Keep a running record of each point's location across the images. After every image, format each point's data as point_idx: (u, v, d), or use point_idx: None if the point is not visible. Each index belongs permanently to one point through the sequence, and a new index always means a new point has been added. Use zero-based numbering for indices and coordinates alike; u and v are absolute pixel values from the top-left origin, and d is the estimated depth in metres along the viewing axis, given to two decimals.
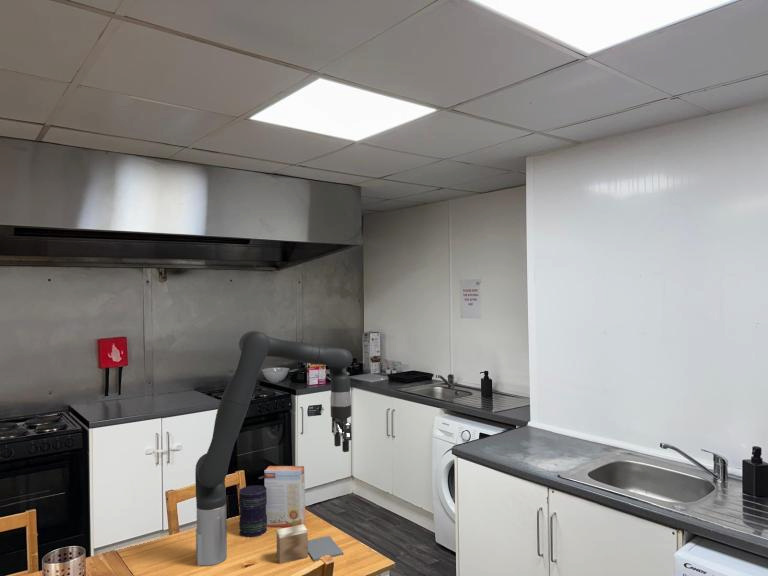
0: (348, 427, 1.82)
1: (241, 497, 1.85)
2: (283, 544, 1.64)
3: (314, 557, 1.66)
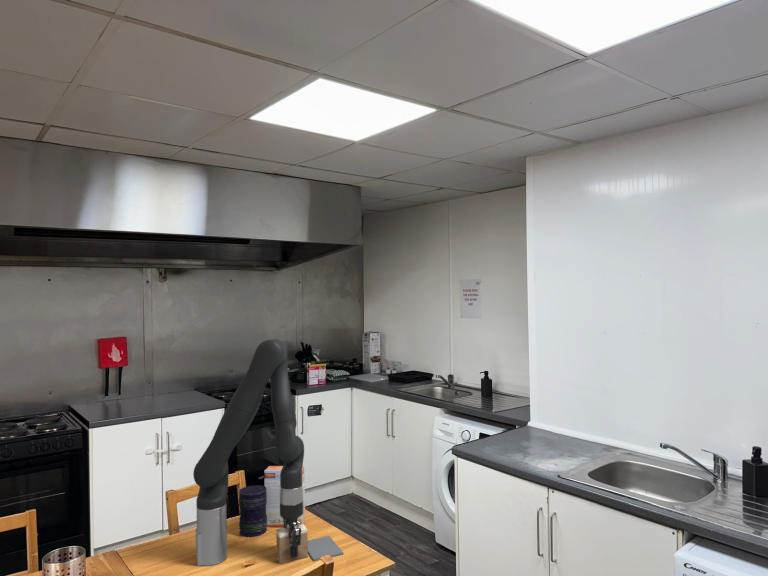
0: (297, 533, 1.62)
1: (241, 497, 1.85)
2: (283, 544, 1.64)
3: (314, 557, 1.66)
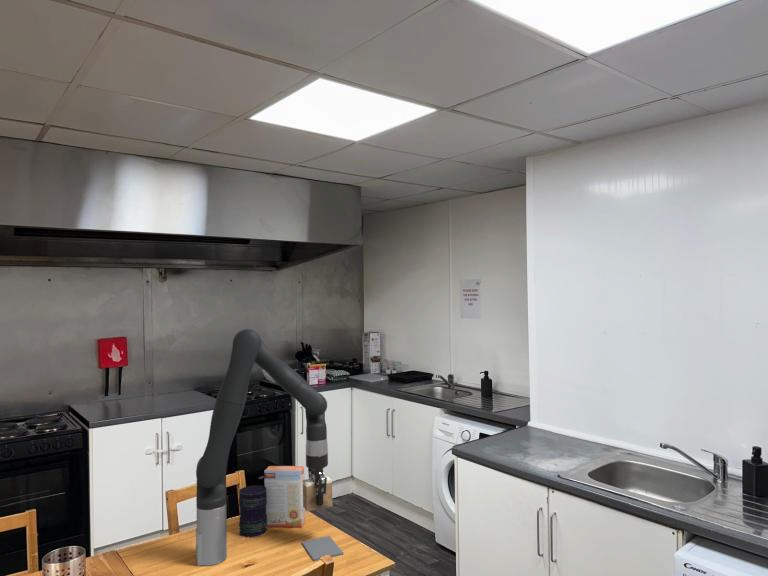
0: (323, 482, 1.72)
1: (241, 497, 1.85)
2: (310, 493, 1.74)
3: (314, 557, 1.66)
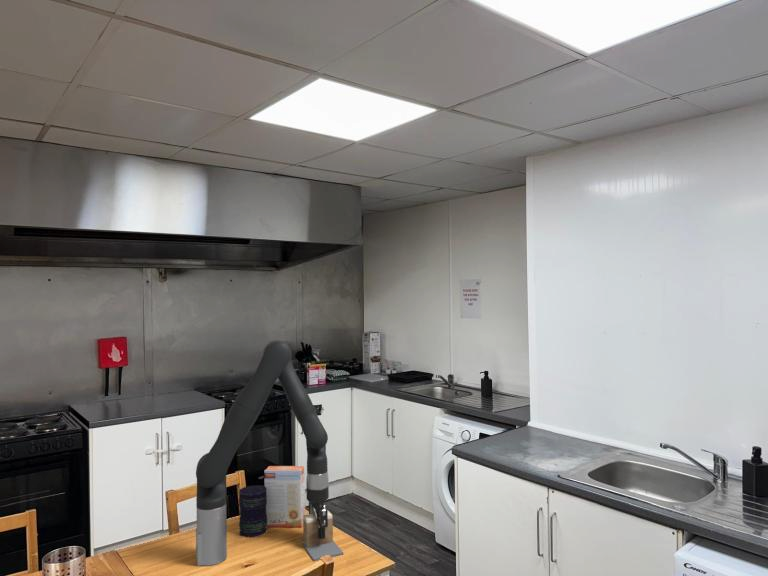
0: (324, 514, 1.71)
1: (241, 497, 1.85)
2: (310, 529, 1.74)
3: (314, 557, 1.66)
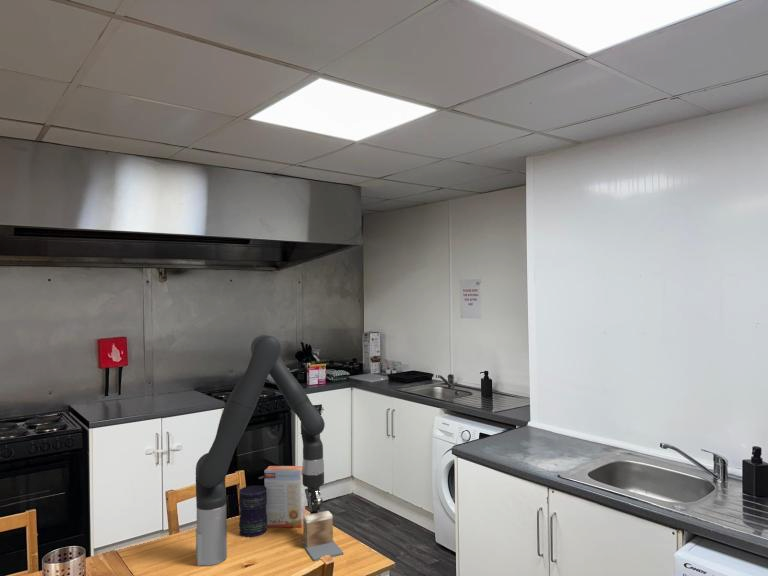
0: (319, 503, 1.77)
1: (241, 497, 1.85)
2: (310, 529, 1.74)
3: (314, 557, 1.66)
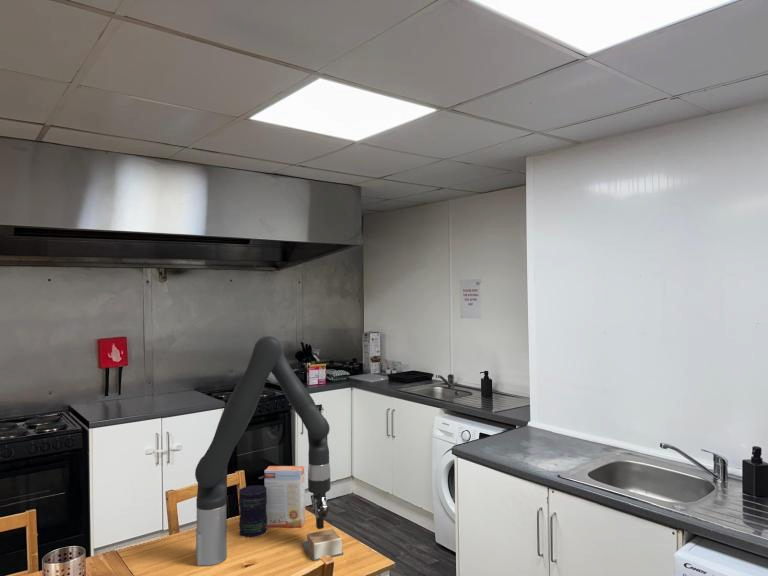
0: (325, 510, 1.71)
1: (241, 497, 1.85)
2: None
3: None
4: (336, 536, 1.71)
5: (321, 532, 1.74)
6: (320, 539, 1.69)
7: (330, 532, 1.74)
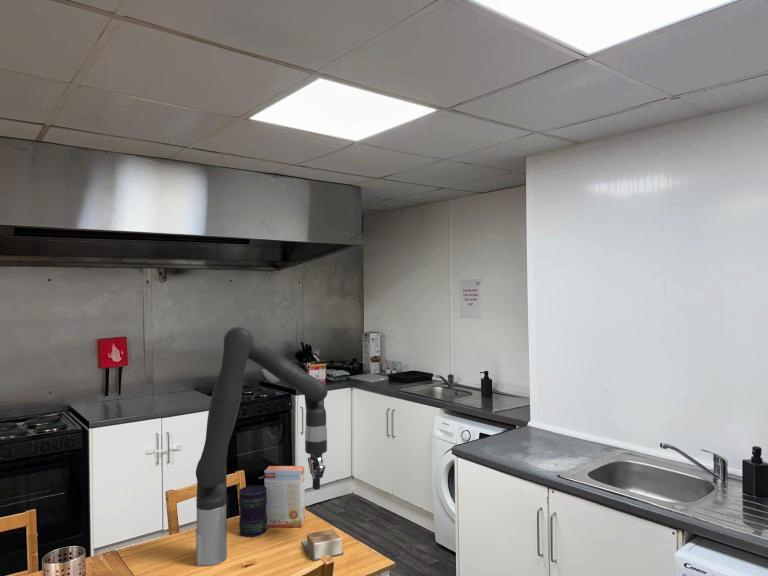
0: (321, 470, 1.74)
1: (241, 497, 1.85)
2: None
3: None
4: (336, 536, 1.71)
5: (321, 532, 1.74)
6: (320, 539, 1.69)
7: (330, 532, 1.74)
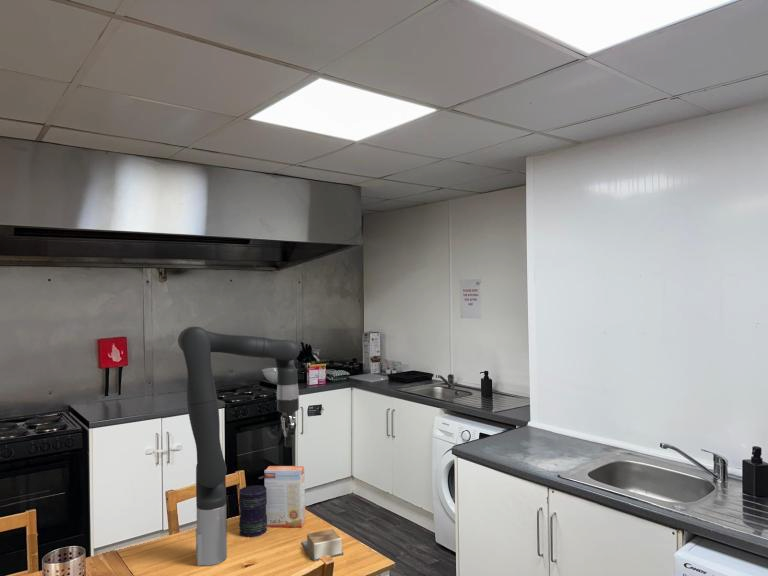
0: (292, 427, 1.77)
1: (241, 497, 1.85)
2: None
3: None
4: (336, 536, 1.71)
5: (321, 532, 1.74)
6: (320, 539, 1.69)
7: (330, 532, 1.74)
